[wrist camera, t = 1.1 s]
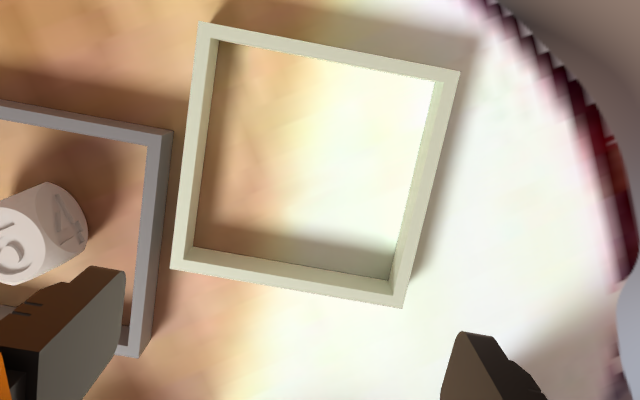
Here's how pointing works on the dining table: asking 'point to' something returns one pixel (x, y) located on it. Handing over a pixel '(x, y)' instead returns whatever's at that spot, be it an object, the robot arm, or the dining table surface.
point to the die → (39, 232)
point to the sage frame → (286, 273)
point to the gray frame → (151, 211)
